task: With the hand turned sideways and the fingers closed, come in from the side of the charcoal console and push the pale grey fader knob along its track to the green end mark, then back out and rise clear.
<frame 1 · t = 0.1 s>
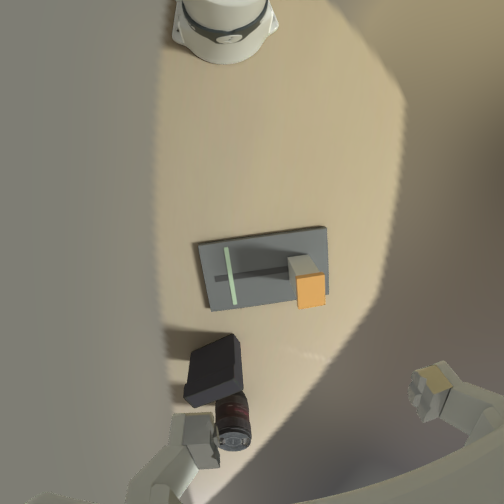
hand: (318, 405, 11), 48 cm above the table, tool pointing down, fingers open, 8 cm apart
calculator: (215, 347, 67), on the table
fader console: (266, 269, 61), on the table
fader knob: (304, 279, 55), point 7 cm above the table, slide at 0.0 cm
camera lens: (231, 395, 73), on the table
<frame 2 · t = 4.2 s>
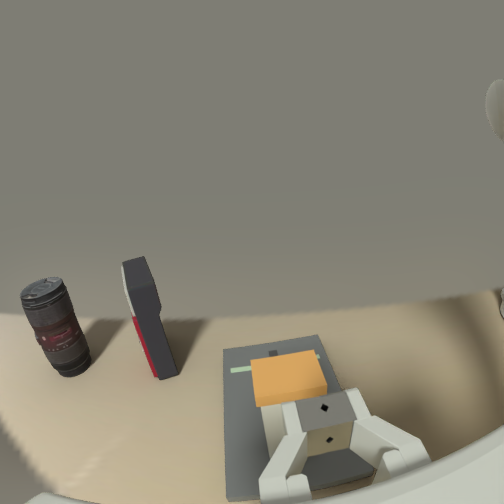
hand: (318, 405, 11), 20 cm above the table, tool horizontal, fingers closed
calculator: (162, 358, 46), on the table
fader console: (284, 408, 34), on the table
fader knob: (289, 410, 26), point 7 cm above the table, slide at 0.0 cm
camera lens: (75, 366, 44), on the table
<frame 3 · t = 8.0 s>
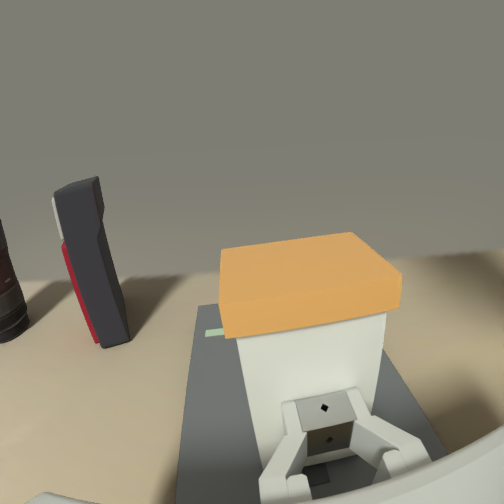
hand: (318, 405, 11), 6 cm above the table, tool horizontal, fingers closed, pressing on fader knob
calculator: (113, 321, 31), on the table
fader console: (292, 393, 20), on the table
fader knob: (305, 369, 13), point 7 cm above the table, slide at 1.2 cm, touching gripper
camera lens: (10, 331, 30), on the table
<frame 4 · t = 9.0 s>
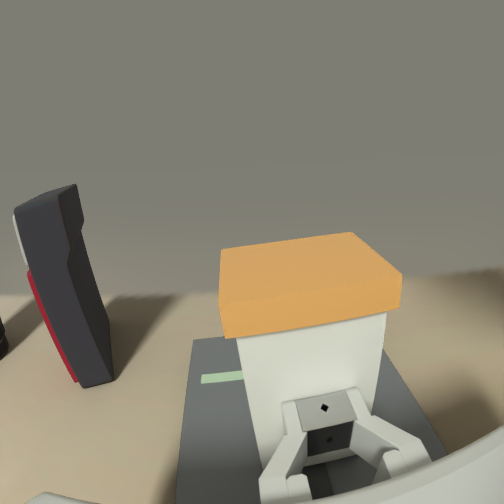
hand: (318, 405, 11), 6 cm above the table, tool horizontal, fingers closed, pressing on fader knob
calculator: (97, 352, 26), on the table
fader console: (309, 460, 14), on the table
fader knob: (305, 369, 13), point 7 cm above the table, slide at 6.8 cm, touching gripper
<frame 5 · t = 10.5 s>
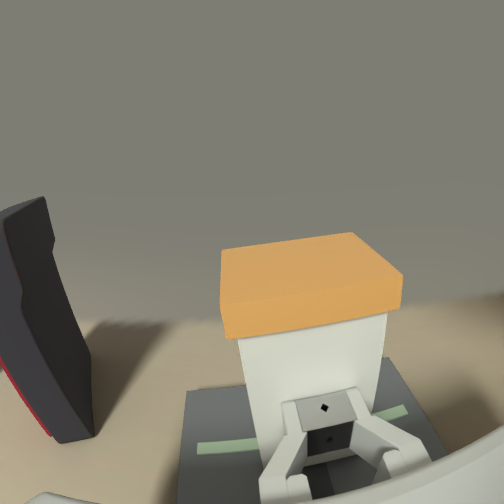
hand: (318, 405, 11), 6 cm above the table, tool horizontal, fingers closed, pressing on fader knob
calculator: (76, 396, 20), on the table
fader knob: (306, 369, 13), point 7 cm above the table, slide at 12.8 cm, touching gripper
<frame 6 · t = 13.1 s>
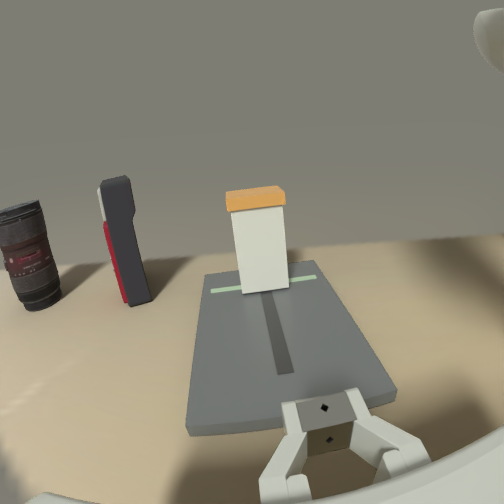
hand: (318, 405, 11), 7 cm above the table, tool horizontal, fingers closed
calculator: (136, 290, 41), on the table
fader console: (273, 327, 29), on the table
fader knob: (258, 239, 34), point 7 cm above the table, slide at 12.9 cm
camera lens: (44, 302, 40), on the table
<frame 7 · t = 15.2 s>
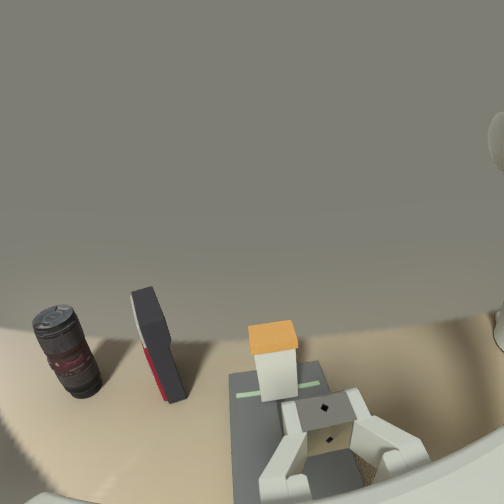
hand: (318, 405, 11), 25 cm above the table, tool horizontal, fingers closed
calculator: (170, 382, 48), on the table
fader console: (286, 432, 36), on the table
fader knob: (275, 363, 40), point 7 cm above the table, slide at 12.9 cm
camera lens: (86, 387, 46), on the table
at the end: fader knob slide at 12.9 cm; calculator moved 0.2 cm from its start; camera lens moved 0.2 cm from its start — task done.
